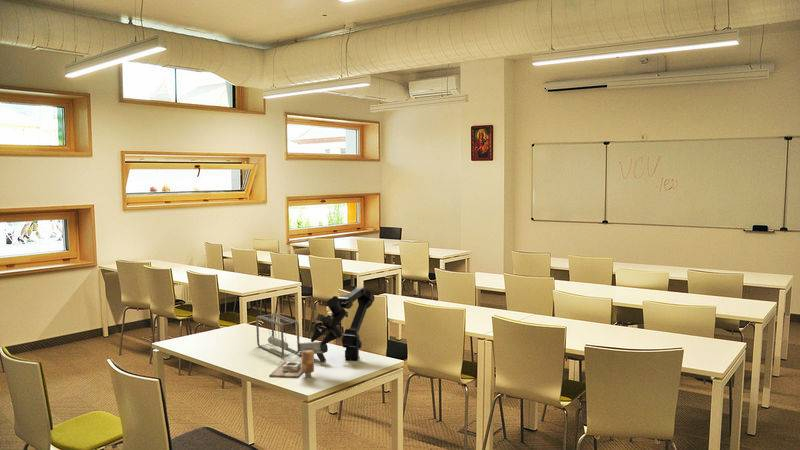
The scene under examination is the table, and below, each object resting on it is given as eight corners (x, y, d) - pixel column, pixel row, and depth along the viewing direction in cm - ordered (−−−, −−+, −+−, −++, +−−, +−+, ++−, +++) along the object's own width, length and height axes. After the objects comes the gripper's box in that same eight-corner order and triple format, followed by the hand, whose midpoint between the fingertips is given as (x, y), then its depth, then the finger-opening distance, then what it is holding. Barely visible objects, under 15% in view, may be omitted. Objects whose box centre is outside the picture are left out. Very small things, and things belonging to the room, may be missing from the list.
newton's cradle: (300, 354, 323) (299, 321, 321) (282, 358, 316) (281, 324, 315) (273, 342, 346) (272, 312, 344) (256, 346, 339) (255, 315, 338)
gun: (326, 361, 306) (323, 341, 307) (299, 362, 324) (296, 343, 325) (330, 360, 308) (327, 340, 308) (303, 361, 325) (300, 342, 326)
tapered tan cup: (315, 374, 288) (315, 350, 287) (312, 378, 282) (311, 353, 282) (304, 374, 289) (303, 349, 288) (300, 378, 283) (300, 353, 282)
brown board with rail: (311, 364, 305) (311, 357, 305) (298, 377, 284) (298, 370, 283) (284, 363, 307) (284, 356, 307) (269, 376, 286) (269, 369, 285)
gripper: (316, 305, 302) (296, 329, 295) (337, 310, 288) (316, 335, 281) (329, 319, 307) (310, 344, 300) (350, 325, 293) (330, 350, 286)
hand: (316, 343), depth 291 cm, fingers open, 9 cm apart
